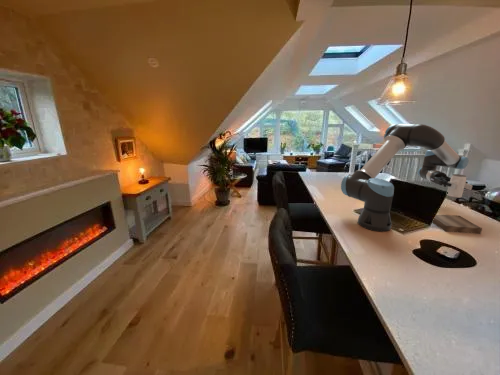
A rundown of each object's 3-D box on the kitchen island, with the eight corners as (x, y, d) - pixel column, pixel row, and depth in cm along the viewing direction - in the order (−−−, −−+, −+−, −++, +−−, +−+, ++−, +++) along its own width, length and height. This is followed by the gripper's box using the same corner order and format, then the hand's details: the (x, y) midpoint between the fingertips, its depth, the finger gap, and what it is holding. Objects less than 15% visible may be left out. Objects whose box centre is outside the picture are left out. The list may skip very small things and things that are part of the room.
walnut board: (445, 231, 110) (446, 225, 110) (427, 218, 125) (428, 213, 124) (480, 233, 108) (482, 228, 107) (457, 220, 122) (459, 215, 122)
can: (464, 198, 124) (470, 177, 120) (450, 197, 125) (456, 176, 122) (456, 194, 130) (462, 174, 127) (443, 193, 131) (448, 173, 128)
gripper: (452, 183, 142) (482, 195, 120) (418, 182, 145) (441, 193, 123) (455, 171, 140) (486, 181, 118) (421, 170, 143) (445, 179, 121)
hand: (463, 187), depth 121 cm, fingers closed on can, 6 cm apart
